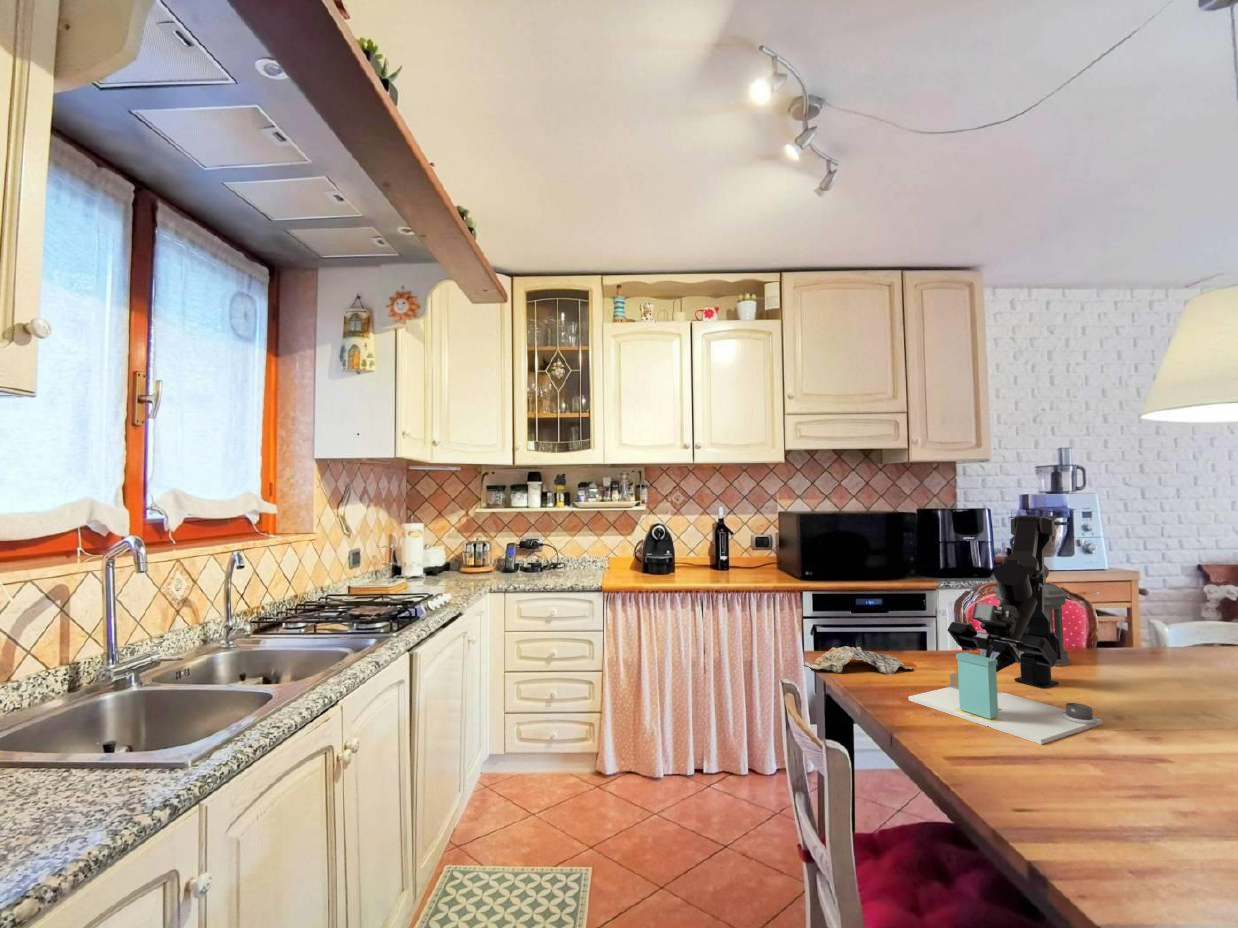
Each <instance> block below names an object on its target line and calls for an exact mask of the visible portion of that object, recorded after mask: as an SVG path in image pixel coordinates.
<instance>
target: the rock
mask: <svg viewBox="0 0 1238 928" xmlns="http://www.w3.org/2000/svg"><path fill="white" fill-rule="evenodd" d="M851 659H852V660H853V659H854V660H856V661H861V660H862V662H866V663H868V664H870V665H872V667H875V668H877V670H878V671H879V672H880V673H884V674H885V676H886V675H887V676H888V675H896V671H898V669H899V668H900V669H903V670H904V669H905V670H913V669H914V667H913V666H912V667H906V666H904V663H903V662H902V660H899V659H898V658H897V657H895V656H893V655H889V654H888V655H886V654H885V655H883V654H881V653H877V652H876V651H871V650H864V649H863V650H862V648H861V646H857V647H854V646H852V647H850V646H847V645H846V646H845V645H844V646H842V647H841V646H840V647H838V648H837V647H834V646H833V647H831V648H830V649H828V651H825V653H823V654H822V655H820V656H818V657H817V658H816V659H815V660H814V661H813V663H814V664H812V663H810V662H806V663H804V664H803V667H806V668H807V667H808V668H811V669H812V670H813V669H814V670H825V671H826V670H827V671H832V672H833V673H836V674H837V675H842V674H843V673H842V672H843V667H844V666H845V665H847V664H848V663H850V662H851V661H850V660H851ZM815 663H816V664H815Z"/></svg>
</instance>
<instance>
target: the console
mask: <svg viewBox="0 0 1238 928" xmlns="http://www.w3.org/2000/svg"><path fill="white" fill-rule="evenodd" d="M949 678H950V680H949V681H950V683H948V684H946V686H947V687H944V688H938V689H934V690H931V691H927V692H922V693H918V694H913V695H909V696H908V701H910V702H913V703H916V704H919V705H922V706H925V707H928V708H930V709H933V710H937V711H939V712H942V713H945V714H948V715H952V716H955V717H957V718H961V719H962V720H963V719H964V720H967V721H969V722H972V723H976V724H978V725H981V726H984V727H987V726H989V727H988V728H990V727H991V728H990V729H994V730H997V731H999V732H1003V733H1006V734H1009V735H1011V736H1015V737H1017V738H1021V739H1024V740H1027V741H1030V742H1033V743H1035V742H1036V744H1039V745H1044V744H1046V743H1050V742H1053V741H1057V740H1059V739H1062V738H1064V737H1067V736H1070V735H1073V734H1076V733H1080V732H1083V731H1086V730H1088V729H1091V728H1094V727H1098V726H1099V725H1102V724H1103V721H1102V719H1101V718H1097V717H1096V716H1094V715H1093V707H1092V706H1089V705H1086V704H1082V703H1078V702H1066V703H1065V709H1064V708H1060V707H1057V706H1053V705H1050V704H1047V703H1042V702H1038V701H1035V700H1031V699H1028V698H1025V697H1021V696H1018V695H1017V696H1016V695H1013V694H1009V693H1006V692H1002V691H999V690H997V699H998V717H996V718H992V719H988V718H985V717H982V716H979V715H976V714H973V713H970V712H967V711H963V710H960V704H959V680H958V671H957V672H952V673H950V674H949Z"/></svg>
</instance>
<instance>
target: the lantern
mask: <svg viewBox="0 0 1238 928" xmlns="http://www.w3.org/2000/svg"><path fill="white" fill-rule="evenodd" d="M1014 537H1015V535H1012V537H1011V538H1010V540H1009V545H1010V549H1011V552H1012V549H1013V543H1014ZM1045 554H1046V553H1045ZM1045 554H1044V556H1045ZM1049 572H1050V571H1049V567H1047V566H1046V565H1045V564H1044V575H1045V576H1046V579H1047V578H1048V577H1049V574H1050V573H1049ZM993 592H994V593H995V599H996V600H997V601H999V603H1000V602H1001V600H1002V597H1001V596H1000V594H999V591H998V587H994V589H993ZM1066 598H1068V592H1065V591H1064V590H1063V588H1061V587H1060V586H1059V585H1056V584H1054V583H1050V582H1045V583H1044V615H1045V617H1046V618H1047V620H1048V621H1049V622H1050V624H1051V626H1052V628H1053V629H1054V631H1053V633H1055V634H1056V637H1057V638H1058V639H1059V642H1060V649H1061V659H1057V661H1056V663H1055V665H1054V666H1059V665H1067V666H1071V658H1069V656H1068V655H1069V654H1068V651H1067V650H1065V648H1064V627H1063V610H1062V609H1063V607H1062V606H1063V605H1066ZM1059 667H1060V666H1059Z"/></svg>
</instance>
